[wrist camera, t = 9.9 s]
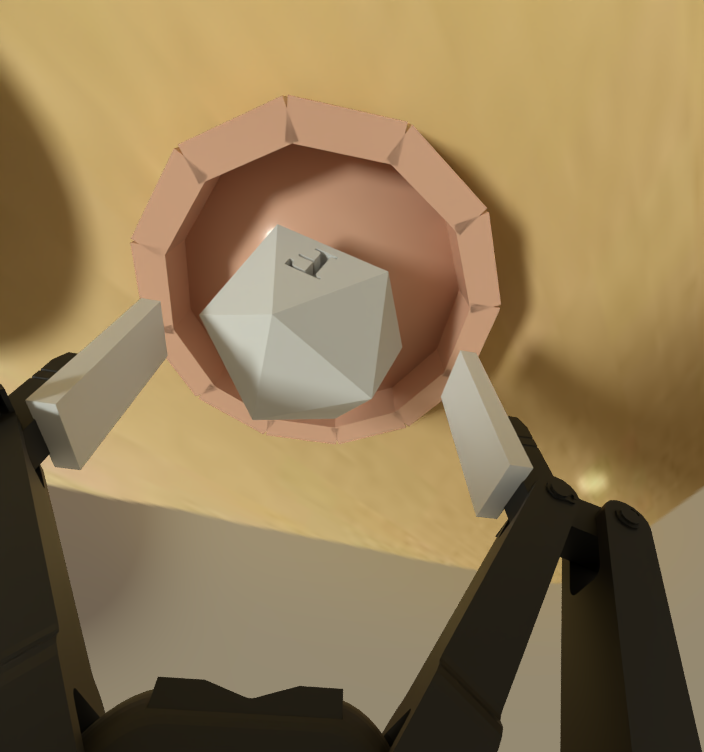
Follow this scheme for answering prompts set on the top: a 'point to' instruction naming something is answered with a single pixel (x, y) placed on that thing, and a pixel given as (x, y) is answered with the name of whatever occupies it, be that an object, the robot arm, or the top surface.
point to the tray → (328, 226)
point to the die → (304, 329)
